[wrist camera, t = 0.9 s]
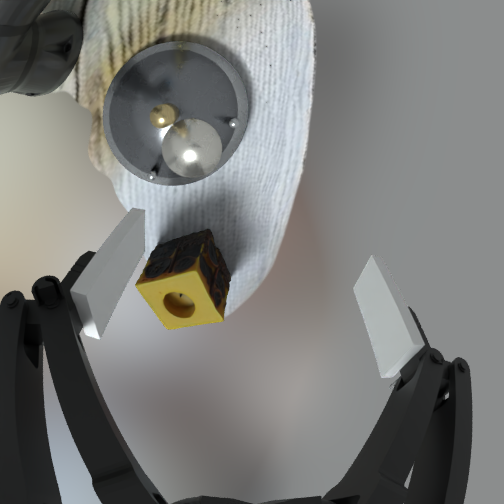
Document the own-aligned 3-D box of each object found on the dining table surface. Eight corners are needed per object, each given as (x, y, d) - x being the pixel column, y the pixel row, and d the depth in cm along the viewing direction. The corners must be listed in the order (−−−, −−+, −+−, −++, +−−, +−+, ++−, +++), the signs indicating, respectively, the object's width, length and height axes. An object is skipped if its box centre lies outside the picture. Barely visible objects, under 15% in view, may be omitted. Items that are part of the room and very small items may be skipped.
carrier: (86, 104, 29) (70, 108, 26) (197, 16, 23) (190, 8, 20) (157, 206, 38) (147, 218, 35) (276, 136, 32) (278, 142, 29)
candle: (210, 227, 40) (197, 267, 32) (233, 277, 46) (227, 322, 37) (154, 244, 42) (132, 283, 34) (180, 289, 48) (167, 331, 40)
